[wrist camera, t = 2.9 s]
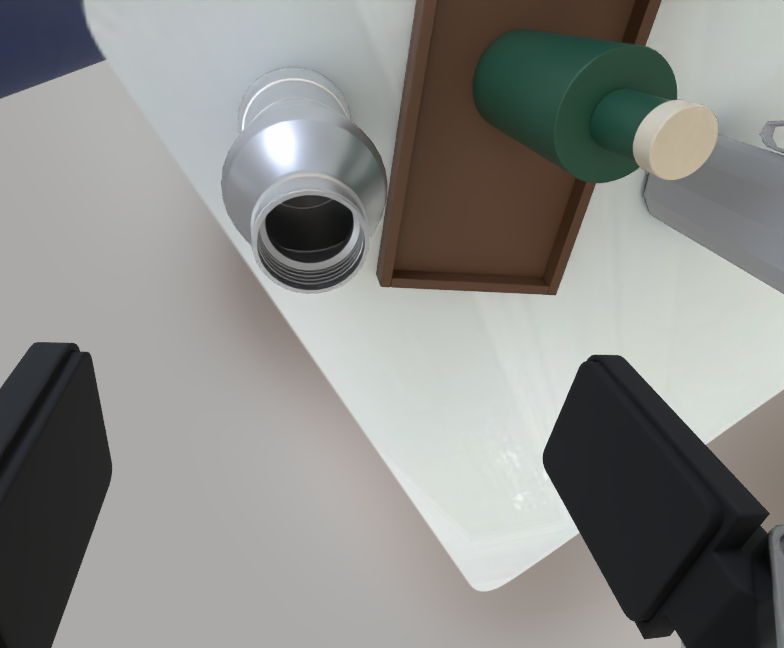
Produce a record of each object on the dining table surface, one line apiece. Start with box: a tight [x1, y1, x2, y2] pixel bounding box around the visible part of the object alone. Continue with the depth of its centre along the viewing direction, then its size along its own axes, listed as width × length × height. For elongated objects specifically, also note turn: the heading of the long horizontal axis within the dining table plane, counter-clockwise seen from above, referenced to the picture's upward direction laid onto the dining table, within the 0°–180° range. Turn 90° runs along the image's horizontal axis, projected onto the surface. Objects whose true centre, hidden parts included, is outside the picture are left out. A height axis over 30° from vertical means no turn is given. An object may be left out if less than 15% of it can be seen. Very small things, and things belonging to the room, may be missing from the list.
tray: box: [376, 0, 662, 295], centre depth 33 cm, size 15×30×2 cm, turn 172°
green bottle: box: [473, 29, 718, 183], centre depth 26 cm, size 6×6×17 cm
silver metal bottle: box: [221, 67, 387, 294], centre depth 24 cm, size 6×7×20 cm
